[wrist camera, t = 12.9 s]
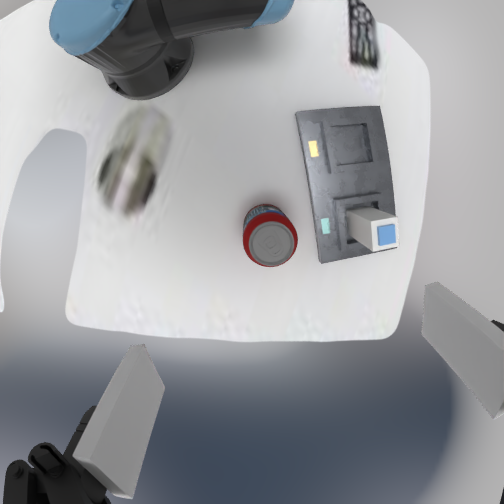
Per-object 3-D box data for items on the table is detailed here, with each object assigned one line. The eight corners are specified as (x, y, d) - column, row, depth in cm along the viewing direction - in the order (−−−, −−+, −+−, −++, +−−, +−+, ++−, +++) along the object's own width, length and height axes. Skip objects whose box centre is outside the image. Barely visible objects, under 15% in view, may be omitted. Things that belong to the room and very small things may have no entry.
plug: (345, 209, 44) (372, 222, 33) (368, 205, 43) (399, 217, 33) (348, 234, 45) (374, 253, 35) (370, 230, 45) (401, 247, 34)
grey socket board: (295, 113, 41) (299, 109, 37) (376, 107, 40) (385, 103, 37) (319, 260, 47) (324, 267, 44) (393, 245, 47) (402, 251, 44)
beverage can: (270, 194, 44) (278, 204, 33) (294, 229, 46) (311, 250, 34) (234, 220, 45) (231, 238, 34) (260, 253, 47) (265, 282, 35)
